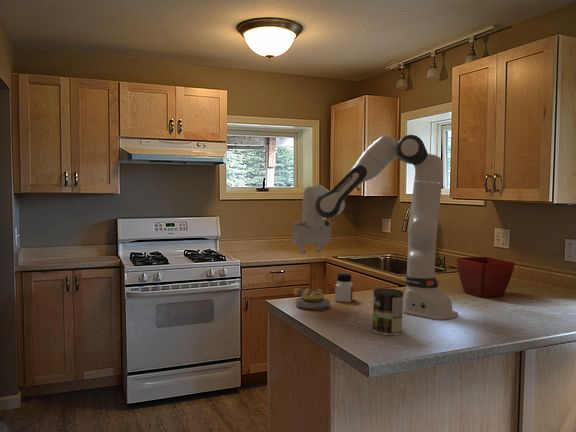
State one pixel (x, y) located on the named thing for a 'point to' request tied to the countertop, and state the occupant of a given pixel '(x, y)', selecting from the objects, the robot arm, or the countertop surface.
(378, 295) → the coffee can
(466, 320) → the countertop surface
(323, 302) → the plate
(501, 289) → the plant pot
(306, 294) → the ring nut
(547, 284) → the countertop surface
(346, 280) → the medicine bottle
